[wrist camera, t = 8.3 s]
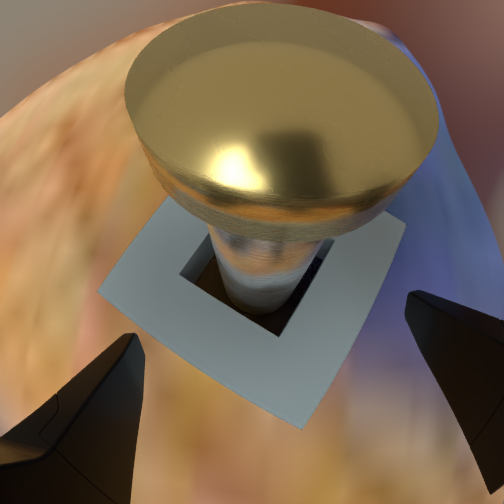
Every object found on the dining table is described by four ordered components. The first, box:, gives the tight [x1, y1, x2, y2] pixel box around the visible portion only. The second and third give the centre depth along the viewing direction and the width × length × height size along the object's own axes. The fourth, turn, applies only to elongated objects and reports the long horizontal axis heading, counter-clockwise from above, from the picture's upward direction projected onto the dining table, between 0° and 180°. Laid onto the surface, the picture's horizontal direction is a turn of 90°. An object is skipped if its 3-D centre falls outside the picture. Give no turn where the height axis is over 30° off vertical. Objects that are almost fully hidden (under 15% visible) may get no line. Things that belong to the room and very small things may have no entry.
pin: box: [124, 3, 439, 315], centre depth 11 cm, size 6×6×14 cm
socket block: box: [97, 195, 407, 430], centre depth 16 cm, size 12×12×3 cm
